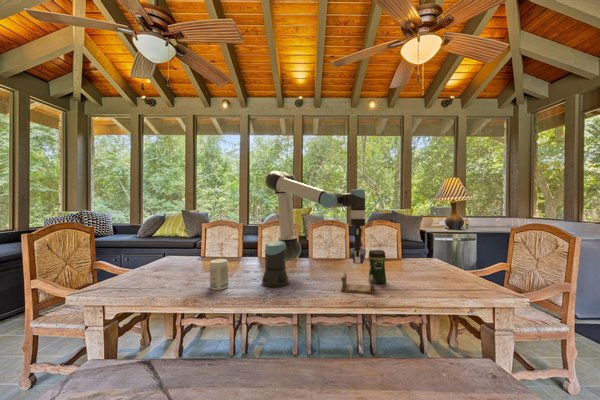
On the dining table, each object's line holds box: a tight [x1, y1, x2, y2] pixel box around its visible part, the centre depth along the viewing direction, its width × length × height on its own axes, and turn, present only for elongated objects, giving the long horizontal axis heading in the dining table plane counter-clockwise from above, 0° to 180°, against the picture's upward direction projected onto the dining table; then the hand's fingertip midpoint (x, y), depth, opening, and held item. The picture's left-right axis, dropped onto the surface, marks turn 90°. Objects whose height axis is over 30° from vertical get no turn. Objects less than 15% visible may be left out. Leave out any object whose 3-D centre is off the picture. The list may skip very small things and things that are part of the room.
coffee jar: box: [368, 249, 387, 285], centre depth 160 cm, size 10×8×19 cm
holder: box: [340, 272, 375, 295], centre depth 147 cm, size 17×10×7 cm, turn 75°
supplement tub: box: [209, 258, 229, 291], centre depth 150 cm, size 10×10×15 cm
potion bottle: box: [349, 239, 367, 265], centre depth 147 cm, size 9×9×12 cm
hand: (358, 260), depth 147 cm, fingers closed on potion bottle, 8 cm apart
